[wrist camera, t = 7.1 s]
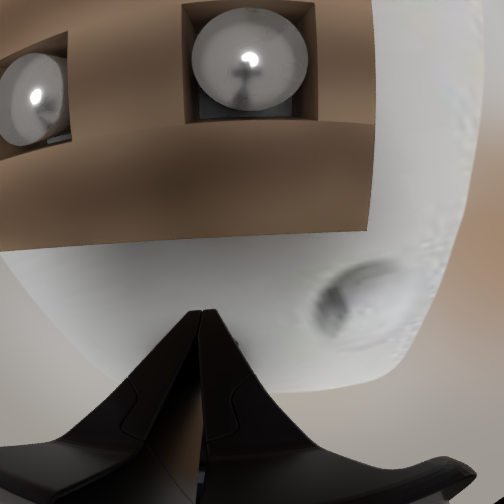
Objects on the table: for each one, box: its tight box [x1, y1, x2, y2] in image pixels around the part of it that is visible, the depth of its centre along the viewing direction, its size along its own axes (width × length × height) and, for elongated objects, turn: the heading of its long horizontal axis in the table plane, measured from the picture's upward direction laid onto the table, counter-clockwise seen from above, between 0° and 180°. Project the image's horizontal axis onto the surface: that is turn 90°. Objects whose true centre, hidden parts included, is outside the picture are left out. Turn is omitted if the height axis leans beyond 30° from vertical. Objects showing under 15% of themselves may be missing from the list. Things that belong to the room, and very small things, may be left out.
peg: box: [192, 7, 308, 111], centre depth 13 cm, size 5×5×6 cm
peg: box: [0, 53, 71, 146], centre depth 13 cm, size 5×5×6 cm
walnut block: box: [0, 0, 376, 252], centre depth 13 cm, size 16×22×6 cm
